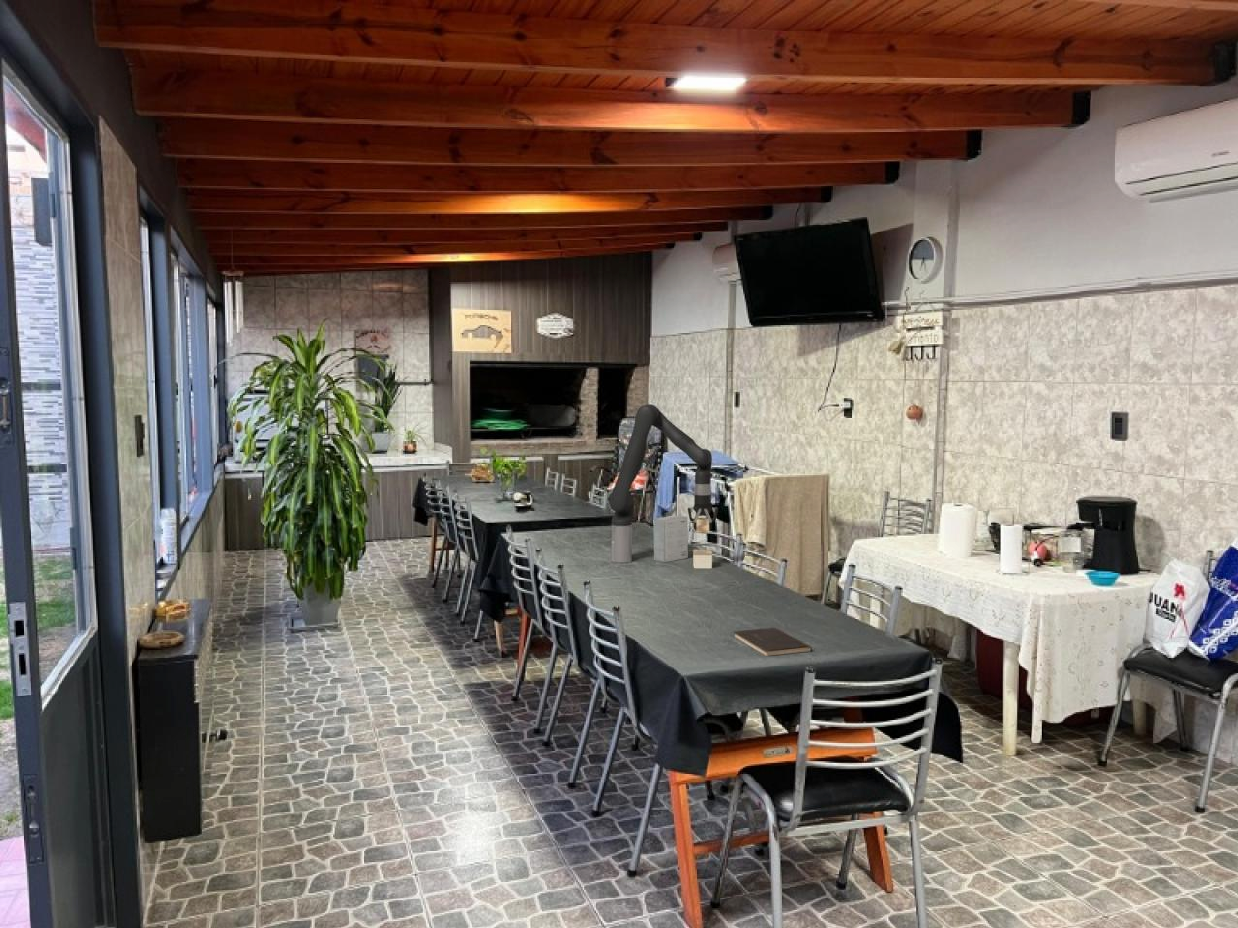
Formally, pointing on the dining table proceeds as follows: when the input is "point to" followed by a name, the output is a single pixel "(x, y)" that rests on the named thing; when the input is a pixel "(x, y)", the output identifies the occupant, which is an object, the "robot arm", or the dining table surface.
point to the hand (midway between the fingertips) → (702, 530)
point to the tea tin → (702, 558)
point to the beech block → (702, 525)
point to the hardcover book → (772, 641)
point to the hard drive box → (670, 538)
